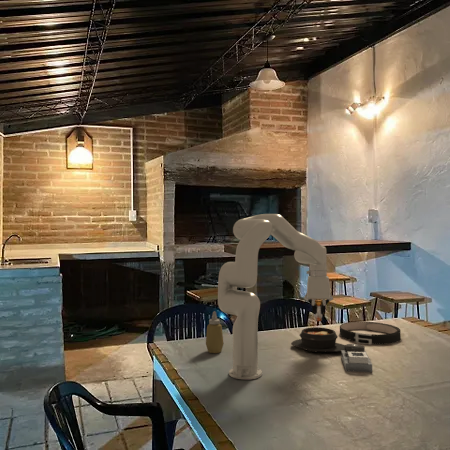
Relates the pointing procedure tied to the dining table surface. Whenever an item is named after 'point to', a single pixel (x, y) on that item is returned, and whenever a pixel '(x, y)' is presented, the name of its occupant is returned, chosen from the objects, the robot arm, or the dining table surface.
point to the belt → (370, 338)
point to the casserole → (318, 340)
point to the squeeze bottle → (214, 335)
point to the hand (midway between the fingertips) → (318, 313)
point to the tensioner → (356, 358)
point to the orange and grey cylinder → (318, 310)
